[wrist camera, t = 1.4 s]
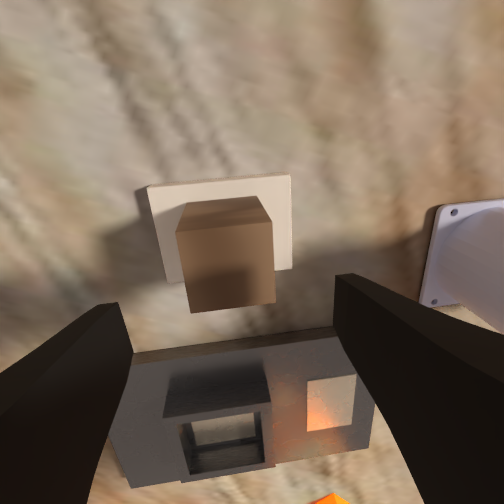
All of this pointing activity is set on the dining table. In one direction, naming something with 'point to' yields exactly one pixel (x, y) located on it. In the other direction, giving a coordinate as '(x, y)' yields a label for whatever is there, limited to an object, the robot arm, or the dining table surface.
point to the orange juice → (332, 500)
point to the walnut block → (226, 254)
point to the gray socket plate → (239, 407)
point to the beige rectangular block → (179, 193)
